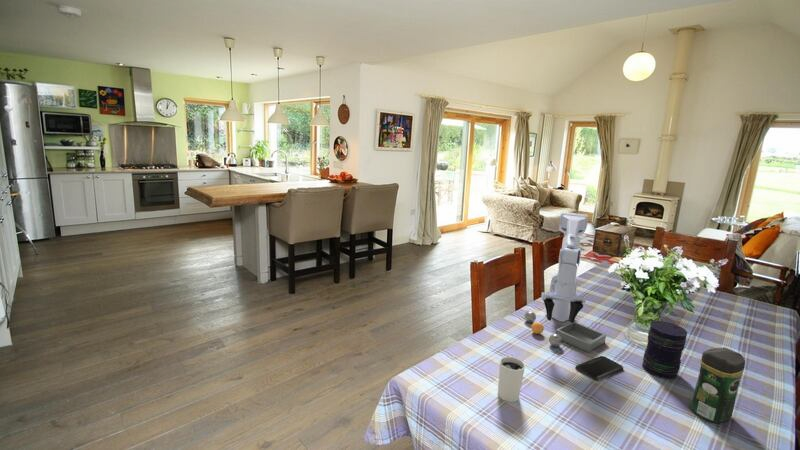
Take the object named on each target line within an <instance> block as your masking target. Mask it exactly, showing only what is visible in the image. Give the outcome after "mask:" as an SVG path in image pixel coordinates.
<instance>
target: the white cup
mask: <svg viewBox="0 0 800 450" xmlns="http://www.w3.org/2000/svg"><path fill="white" fill-rule="evenodd" d="M525 369H526V365H525V362H523V360H521V359H519V358H517V357H514V356H503V357H501V358H500V360H499V370H498V383H497V384H498V385H497V396H498V397H499V398H500V399H502V400H503V401H505V402H509V403H514V402H515V403H516V402H517V401H518V400H519V399H520V395H521V388H522V383H523V378H524V374H525Z"/></svg>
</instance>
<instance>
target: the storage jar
mask: <svg viewBox="0 0 800 450" xmlns="http://www.w3.org/2000/svg"><path fill="white" fill-rule="evenodd" d="M687 336H688V331H687V330H686V329H685V328H683V327H681V326H679V325H677V324H674V323H671V322H669V321H662V320H654V321H651V323H650V327H649V330H648V335H647V343H646V344H647V345H646V349H645V350H644V353H643V359H642V365H641V366H642V368H643V370H644V371H646V372H647V373H648V374H651V375H652V376H655V377H657V378H660V379H664V380H675V379H677V378H678V374H679V371H680V369H681V363H682V360H681V357H682V354H683V351H684V350H685V346H686V343H687V342H686V341H687Z"/></svg>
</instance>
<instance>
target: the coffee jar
mask: <svg viewBox="0 0 800 450" xmlns="http://www.w3.org/2000/svg"><path fill="white" fill-rule="evenodd" d="M745 366H746V360H745V358H744V356H743V355H742V354H741V353H739V352H737V351H735V350H733V349H730V348H728V347H725V346H724V347H713V348H709V349H707V350H705V351H703V352H702V356H701V359H700V367H699V372H698V373H699V374H698V376H697V380H696V384H695V388H694V390H693V391H694V392H693V393H692V396H691V402H690V405H689V406H690V409H691V410H692V411H693V412H694V413H695V414H696V415H698V416H699V417H700V418H702V419H704V420H707V421H710V422H713V423H716V424H719V423H723V422H727V420H730V419H731V418H732V416H733V412H734V409H735V404H736V398H737V393H738V391H739V386H740V382H741V379H742V375H743V374H744V373H743V372H744V370H745Z"/></svg>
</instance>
